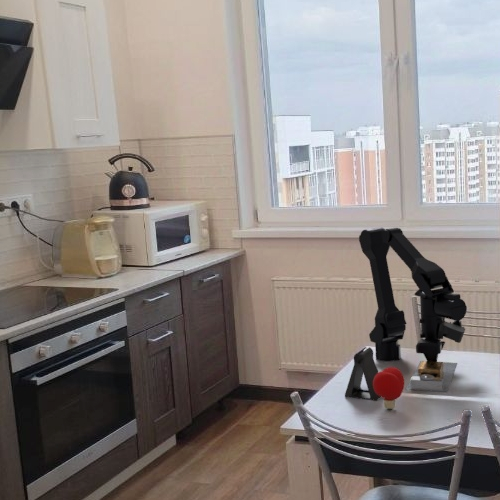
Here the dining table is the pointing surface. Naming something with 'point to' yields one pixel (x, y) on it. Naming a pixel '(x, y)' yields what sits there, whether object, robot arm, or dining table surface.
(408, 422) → the dining table surface
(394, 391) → the table tennis paddles
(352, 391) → the dark grey a-frame stand
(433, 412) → the dining table surface
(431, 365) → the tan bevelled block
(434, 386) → the grey stepped plate
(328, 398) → the dining table surface
